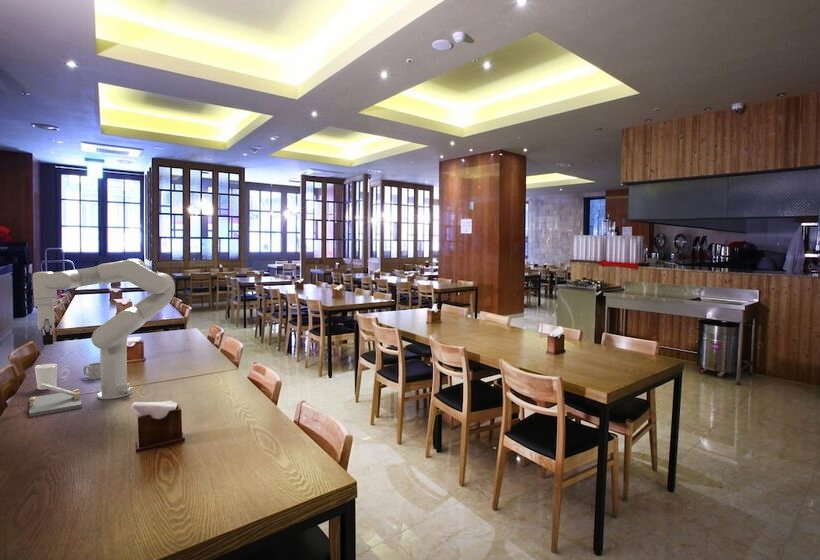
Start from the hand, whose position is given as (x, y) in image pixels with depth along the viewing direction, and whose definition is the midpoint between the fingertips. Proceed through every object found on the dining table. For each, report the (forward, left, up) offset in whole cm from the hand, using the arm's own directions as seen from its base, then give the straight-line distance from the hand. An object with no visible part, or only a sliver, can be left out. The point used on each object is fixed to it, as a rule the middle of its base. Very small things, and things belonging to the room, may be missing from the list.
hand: (48, 342), depth 186 cm
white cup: (+17, -12, -24) cm, 32 cm away
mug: (+12, -30, -24) cm, 40 cm away
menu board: (-8, +3, -24) cm, 26 cm away
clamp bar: (-8, +3, -19) cm, 21 cm away
